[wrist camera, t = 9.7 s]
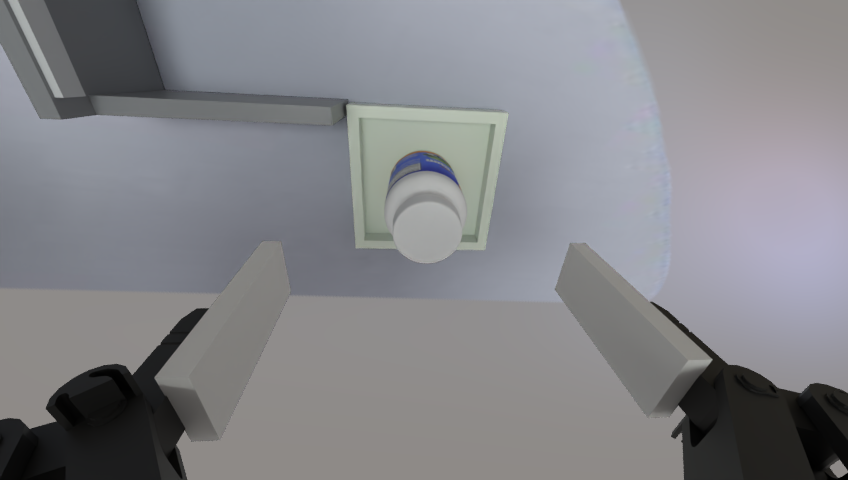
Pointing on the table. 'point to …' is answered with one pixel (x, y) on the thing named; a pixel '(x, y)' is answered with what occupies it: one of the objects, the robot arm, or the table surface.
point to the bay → (121, 69)
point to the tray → (422, 131)
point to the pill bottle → (425, 207)
